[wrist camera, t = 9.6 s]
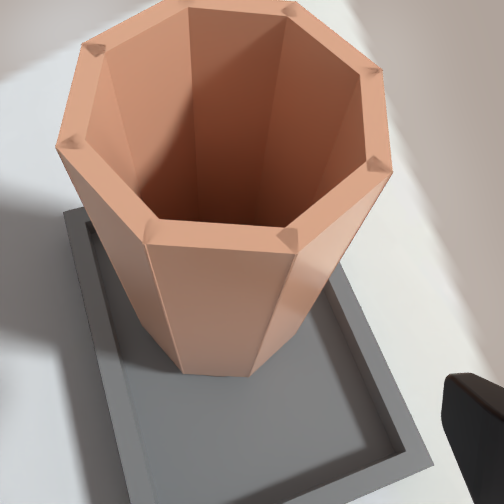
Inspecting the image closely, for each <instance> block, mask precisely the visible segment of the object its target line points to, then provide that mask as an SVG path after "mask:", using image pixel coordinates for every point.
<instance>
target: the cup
mask: <svg viewBox="0 0 504 504" xmlns="http://www.w3.org/2000/svg"><path fill="white" fill-rule="evenodd" d="M81 45H82V46H81V50H80V54H79V57H78V61H77V65H76V69H75V73H74V77H73V81H72V85H71V89H70V93H69V96H68V100H67V104H66V108H65V112H64V116H63V120H62V124H61V128H60V132H59V135H58V139H57V143H56V145H55V148H56V150H57V152H58V154H59V156H60V158H61V160H62V162H63V164H64V167H65V169H66V171H67V173H68V175H69V177H70V179H71V181H72V183H73V185H74V187H75V189H76V191H77V193H78V195H79V197H80V199H81V201H82V203H83V206H84V208H85V210H86V212H87V214H88V216H89V218H90V220H91V222H92V224H93V226H94V228H95V230H96V232H97V234H98V236H99V238H100V240H101V242H102V244H103V247H104V249H105V251H106V253H107V255H108V257H109V259H110V261H111V263H112V265H113V267H114V269H115V271H116V273H117V275H118V277H119V279H120V281H121V283H122V286H123V288H124V290H125V292H126V294H127V296H128V298H129V300H130V302H131V304H132V306H133V308H134V310H135V312H136V314H137V316H138V318H139V320H140V322H141V325H142V327H144V328H145V329H146V331H147V332H148V333H149V334H150V335H151V337H152V338H153V339H154V340H155V341H156V342H157V344H158V345H159V346H160V347H161V348H162V349H163V351H164V352H165V353H166V354H167V355H168V357H169V358H170V359H171V360H172V361H173V362H174V364H175V365H176V366H177V367H178V368H179V369H180V371H181V372H182V373H183V374H194V375H207V376H215V377H226V376H233V377H248V378H249V377H250V376H251V375H252V374H253V373H254V372H255V371H256V370H257V369H258V368H259V367H260V366H262V365H263V364H264V363H265V362H266V361H267V360H268V359H269V358H270V357H271V356H272V355H273V354H274V353H276V352H277V351H278V350H279V349H280V348H281V347H282V346H283V345H284V344H285V343H286V342H287V341H288V340H289V339H291V338H292V337H293V336H294V335H295V334H296V332H297V331H298V329H299V327H300V326H301V324H302V322H303V321H304V319H305V317H306V316H307V314H308V312H309V311H310V309H311V307H312V306H313V304H314V302H315V301H316V299H317V297H318V296H319V294H320V293H321V291H322V289H323V288H324V286H325V284H326V283H327V281H328V279H329V278H330V276H331V274H332V273H333V271H334V269H335V268H336V266H337V264H338V263H339V261H340V259H341V258H342V256H343V254H344V253H345V251H346V250H347V248H348V246H349V245H350V243H351V241H352V240H353V238H354V236H355V235H356V233H357V231H358V230H359V228H360V226H361V225H362V223H363V221H364V220H365V218H366V216H367V215H368V213H369V212H370V210H371V208H372V207H373V205H374V203H375V202H376V200H377V198H378V197H379V195H380V193H381V192H382V190H383V188H384V187H385V185H386V183H387V182H388V180H389V178H390V177H391V175H392V174H393V171H392V161H391V151H390V141H389V131H388V122H387V112H386V102H385V92H384V82H383V73H382V71H383V70H382V69H381V68H380V67H378V66H377V65H376V64H375V63H373V62H372V61H371V60H370V59H368V58H367V57H366V56H364V55H363V54H362V53H361V52H359V51H358V50H357V49H356V48H354V47H353V46H352V45H351V44H349V43H348V42H347V41H345V40H344V39H343V38H342V37H340V36H339V35H338V34H337V33H335V32H334V31H333V30H331V29H330V28H329V27H328V26H326V25H325V24H324V23H323V22H321V21H320V20H319V19H317V18H316V17H315V16H314V15H312V14H311V13H310V12H309V11H307V10H306V9H305V8H304V7H302V6H301V5H300V4H298V3H297V2H296V1H295V2H294V1H283V0H163V1H161V2H159V3H157V4H155V5H154V6H152V7H150V8H148V9H146V10H144V11H142V12H140V13H138V14H137V15H135V16H133V17H131V18H129V19H127V20H125V21H123V22H122V23H120V24H118V25H116V26H114V27H112V28H110V29H108V30H106V31H105V32H103V33H101V34H99V35H97V36H95V37H93V38H91V39H90V40H88V41H86V42H84V43H82V44H81Z"/></svg>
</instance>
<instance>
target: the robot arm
mask: <svg viewBox="0 0 504 504" xmlns="http://www.w3.org/2000/svg"><path fill="white" fill-rule="evenodd" d="M441 420H442V425H443V429H444V431H445V434H446V436H447V439H448V441H449V444H450V446H451V449H452V451H453V453H454V456H455V458H456V461H457V463H458V466H459V468H460V471H461V473H462V476H463V478H464V480H465V483H466V485H467V488H468V490H469V493H470V495H471V498H472V500H473V502H474V504H504V388H503V387H501V386H499V385H497V384H494V383H492V382H490V381H488V380H486V379H484V378H482V377H479V376H477V375H475V374H473V373H455V374H449V375H448V376H447V377H446V379H445V382H444V390H443V400H442V410H441Z"/></svg>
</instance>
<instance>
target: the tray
mask: <svg viewBox="0 0 504 504" xmlns="http://www.w3.org/2000/svg"><path fill="white" fill-rule="evenodd" d="M63 214H64V218H65V223H66V227H67V231H68V236H69V240H70V244H71V249H72V253H73V257H74V261H75V266H76V270H77V274H78V279H79V283H80V287H81V292H82V296H83V300H84V304H85V309H86V313H87V317H88V322H89V326H90V330H91V335H92V339H93V343H94V347H95V352H96V356H97V360H98V365H99V369H100V373H101V378H102V382H103V386H104V390H105V395H106V399H107V403H108V408H109V412H110V416H111V421H112V425H113V429H114V433H115V438H116V442H117V446H118V451H119V455H120V459H121V464H122V468H123V472H124V476H125V481H126V485H127V489H128V494H129V498H130V502H131V504H346V503H348V502H350V501H353V500H355V499H357V498H360V497H362V496H364V495H367V494H369V493H371V492H374V491H376V490H378V489H380V488H383V487H385V486H387V485H390V484H392V483H394V482H397V481H399V480H401V479H404V478H406V477H408V476H411V475H413V474H415V473H417V472H420V471H422V470H424V469H427V468H429V467H431V466H434V463H433V461H432V459H431V457H430V455H429V453H428V450H427V448H426V446H425V444H424V442H423V440H422V438H421V435H420V433H419V431H418V429H417V427H416V425H415V423H414V420H413V418H412V416H411V414H410V412H409V410H408V408H407V405H406V403H405V401H404V399H403V397H402V395H401V393H400V390H399V388H398V386H397V384H396V382H395V380H394V377H393V375H392V373H391V371H390V369H389V367H388V365H387V362H386V360H385V358H384V356H383V354H382V352H381V350H380V347H379V345H378V343H377V341H376V339H375V337H374V335H373V332H372V330H371V328H370V326H369V324H368V322H367V320H366V317H365V315H364V313H363V311H362V309H361V307H360V305H359V302H358V300H357V298H356V296H355V294H354V292H353V290H352V287H351V285H350V283H349V281H348V279H347V277H346V275H345V272H344V270H343V268H342V266H341V264H340V262H339V263H338V264H337V266H336V268H335V269H334V271H333V273H332V274H331V276H330V278H329V279H328V281H327V283H326V284H325V286H324V288H323V289H322V291H321V293H320V294H319V296H318V297H317V299H316V301H315V302H314V304H313V306H312V307H311V309H310V311H309V312H308V314H307V316H306V317H305V319H304V321H303V322H302V324H301V326H300V327H299V329H298V331H297V332H296V334H295V335H294V336H293V337H292V338H291V339H289V340H288V341H287V342H286V343H285V344H284V345H283V346H282V347H281V348H280V349H279V350H278V351H277V352H276V353H274V354H273V355H272V356H271V357H270V358H269V359H268V360H267V361H266V362H265V363H264V364H263V365H262V366H260V367H259V368H258V369H257V370H256V371H255V372H254V373H253V374H252V375H251V376H250V377H249V378H248V377H233V376H226V377H215V376H207V375H194V374H183V373H182V372H181V371H180V369H179V368H178V367H177V366H176V365H175V364H174V362H173V361H172V360H171V359H170V358H169V357H168V355H167V354H166V353H165V352H164V351H163V349H162V348H161V347H160V346H159V345H158V344H157V342H156V341H155V340H154V339H153V338H152V337H151V335H150V334H149V333H148V332H147V331H146V329H145V328H144V327H142V325H141V322H140V320H139V318H138V316H137V314H136V312H135V310H134V308H133V306H132V304H131V302H130V300H129V298H128V296H127V294H126V292H125V290H124V288H123V286H122V283H121V281H120V279H119V277H118V275H117V273H116V271H115V269H114V267H113V265H112V263H111V261H110V259H109V257H108V255H107V253H106V251H105V249H104V247H103V244H102V242H101V240H100V238H99V236H98V234H97V232H96V230H95V228H94V226H93V224H92V222H91V220H90V218H89V216H88V214H87V212H86V210H85V208H84V207H81V208H77V209H73V210H69V211H65V212H63Z"/></svg>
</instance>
